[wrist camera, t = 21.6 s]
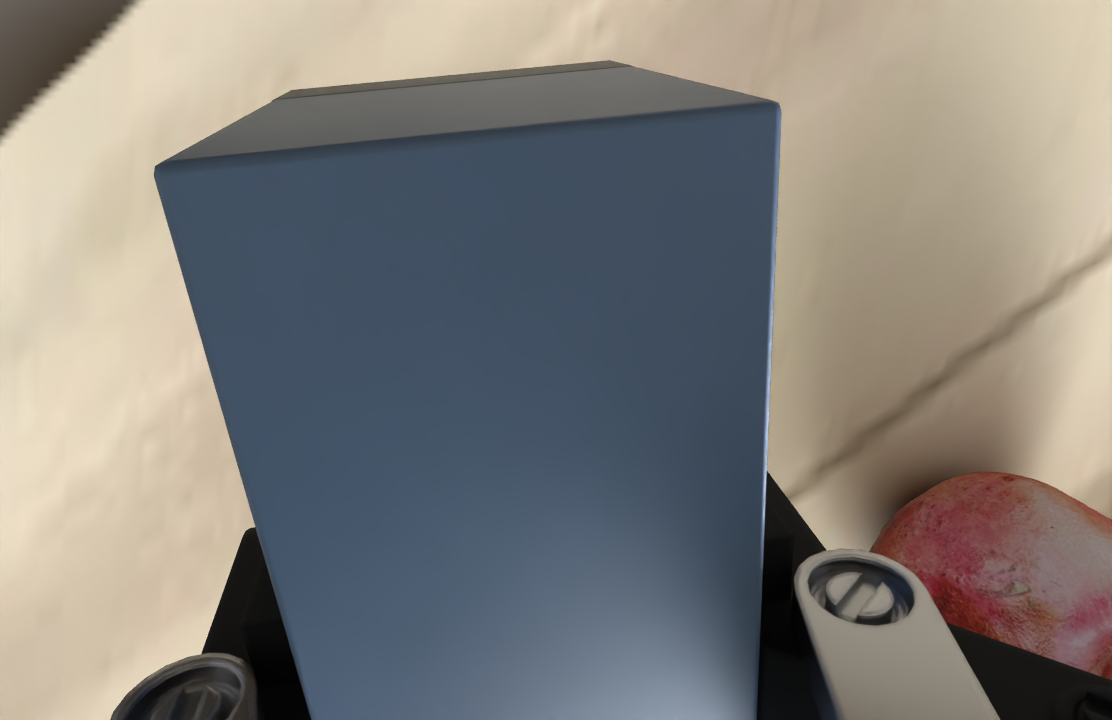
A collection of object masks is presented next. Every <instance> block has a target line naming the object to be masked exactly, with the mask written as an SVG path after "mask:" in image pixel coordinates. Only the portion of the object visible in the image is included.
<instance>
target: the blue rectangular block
mask: <svg viewBox="0 0 1112 720" xmlns="http://www.w3.org/2000/svg"><path fill="white" fill-rule="evenodd" d="M780 135H781V108H780V105H779V103H778V102H775V101H772V100H769V99H765V98H760V97H756V96H752V95H748V94H744V93H740V92H736V91H732V90H727V89H723V88H719V87H715V86H711V85H707V84H703V83H699V82H694V81H690V80H686V79H682V78H678V77H674V76H670V75H666V74H661V73H657V72H653V71H649V70H645V69H641V68H637V67H634V66H631V65H627V64H623V63H618V62H614V61H610V60H609V61H598V62H588V63H577V64H566V65H555V66H545V67H534V68H523V69H513V70H502V71H491V72H481V73H470V74H459V75H448V76H438V77H427V78H416V79H406V80H395V81H384V82H373V83H363V84H352V85H341V86H331V87H320V88H309V89H299V90H291V91H289V92H287V93H285V94H284V95H282V96H280V97H278V98H276V99H274V100H273V101H272V102H271V103H269V104H267V105H265V106H263V107H261V108H260V109H258V110H256V111H254V112H252V113H250V114H249V115H247V116H245V117H243V118H241V119H240V120H238V121H236V122H234V123H232V124H230V125H229V126H227V127H225V128H223V129H221V130H220V131H218V132H216V133H214V134H212V135H210V136H209V137H207V138H205V139H203V140H201V141H200V142H198V143H196V144H194V145H192V146H190V147H189V148H187V149H185V150H183V151H181V152H180V153H178V154H176V155H174V156H172V157H170V158H169V159H167V160H165V161H163V162H161V163H160V164H158V165H156V166H155V170H154V178H155V181H156V185H157V188H158V192H159V195H160V199H161V202H162V206H163V209H164V212H165V216H166V219H167V223H168V226H169V230H170V233H171V237H172V240H173V244H174V247H175V250H176V254H177V257H178V261H179V264H180V268H181V271H182V275H183V278H184V282H185V285H186V288H187V292H188V295H189V299H190V302H191V306H192V309H193V313H194V316H195V320H196V323H197V326H198V330H199V333H200V337H201V340H202V344H203V347H204V351H205V354H206V358H207V361H208V364H209V368H210V371H211V375H212V378H213V382H214V385H215V389H216V392H217V396H218V399H219V402H220V406H221V409H222V413H223V416H224V420H225V423H226V427H227V430H228V434H229V437H230V440H231V444H232V447H233V451H234V454H235V458H236V461H237V465H238V468H239V472H240V475H241V478H242V482H243V485H244V489H245V492H246V496H247V499H248V503H249V506H250V510H251V513H252V516H253V520H254V523H255V527H256V530H257V534H258V537H259V541H260V544H261V548H262V551H263V554H264V558H265V561H266V565H267V568H268V572H269V575H270V579H271V582H272V586H273V589H274V592H275V596H276V599H277V603H278V606H279V610H280V613H281V617H282V620H283V624H284V627H285V630H286V634H287V637H288V641H289V644H290V648H291V651H292V655H293V658H294V662H295V665H296V668H297V672H298V675H299V679H300V682H301V686H302V689H303V693H304V696H305V700H306V703H307V706H308V710H309V713H310V717H311V720H757V697H758V673H759V648H760V624H761V599H762V575H763V550H764V526H765V502H766V477H767V453H768V428H769V404H770V379H771V355H772V330H773V306H774V282H775V257H776V233H777V208H778V184H779V159H780Z"/></svg>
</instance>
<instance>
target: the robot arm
mask: <svg viewBox="0 0 1112 720" xmlns="http://www.w3.org/2000/svg"><path fill="white" fill-rule="evenodd" d="M110 720H311V717H310V713H309V710H308V706H307V703H306V700H305V696H304V693H303V689H302V686H301V682H300V679H299V675H298V672H297V668H296V665H295V662H294V658H293V655H292V651H291V648H290V644H289V641H288V637H287V634H286V630H285V627H284V624H283V620H282V617H281V613H280V610H279V606H278V603H277V599H276V596H275V592H274V589H273V586H272V582H271V579H270V575H269V572H268V568H267V565H266V561H265V558H264V554H263V551H262V548H261V544H260V541H259V537H258V534H257V530H256V527H254V528H250V529H248V530H246V532H245V534H244V535H243V537H242V540H241V543H240V546H239V549H238V551H237V554H236V557H235V560H234V563H233V566H232V569H231V571H230V574H229V577H228V580H227V583H226V586H225V588H224V591H223V594H222V597H221V600H220V603H219V605H218V608H217V611H216V614H215V617H214V620H213V622H212V625H211V628H210V631H209V634H208V637H207V639H206V642H205V645H204V648H203V651H202V654H201V655H196V656H191V657H187V658H184V659H182V660H179V661H177V662H174V663H171V664H169V665H166V666H165V667H163V668H161V669H160V670H158V671H156V672H155V673H153V674H151V675H150V676H148V677H146V678H145V679H144V680H143V681H141V682H140V683H139V684H138V685H137V686H136V687H134V688H133V689H132V690H131V691H130V692H129V693H128V694H127V695H126V696H125V697H124V699H123V700H122V701H121V703H120V704H119V705H118V706H117V708H116V709H115V710H114V712H113V714H112V717H111V719H110ZM757 720H1112V680H1110V679H1107V678H1104V677H1101V676H1098V675H1095V674H1092V673H1090V672H1087V671H1084V670H1081V669H1078V668H1075V667H1073V666H1070V665H1067V664H1064V663H1061V662H1058V661H1055V660H1053V659H1050V658H1047V657H1044V656H1041V655H1038V654H1035V653H1033V652H1030V651H1027V650H1024V649H1021V648H1018V647H1015V646H1013V645H1010V644H1007V643H1004V642H1001V641H998V640H995V639H993V638H990V637H987V636H984V635H981V634H978V633H976V632H973V631H970V630H967V629H964V628H961V627H958V626H956V625H953V624H950V623H947V622H945V621H944V619H943V617H942V616H941V614H940V612H939V610H938V608H937V607H936V605H935V603H934V601H933V600H932V598H931V596H930V594H929V593H928V591H927V589H926V587H925V586H924V585H923V584H922V582H921V581H920V580H919V579H918V577H917V576H916V575H915V574H914V573H913V572H911V571H910V570H908V569H907V568H906V567H904V566H903V565H902V564H900V563H898V562H896V561H894V560H892V559H889V558H887V557H885V556H883V555H880V554H876V553H872V552H868V551H864V550H855V549H835V550H828V551H826V549H825V548H824V546H823V545H822V544H821V542H820V541H819V540H818V538H817V537H816V536H815V534H814V533H813V532H812V530H811V529H810V528H809V526H808V525H807V524H806V522H805V521H804V520H803V518H802V517H801V516H800V514H799V513H798V512H797V510H796V509H795V508H794V506H793V505H792V504H791V502H790V501H789V500H788V498H787V497H786V496H785V494H784V493H783V492H782V490H781V489H780V488H779V486H778V485H777V484H776V482H775V481H774V480H773V478H772V477H771V475H770V474H769V473H768V471H767V477H766V502H765V526H764V550H763V575H762V599H761V624H760V648H759V673H758V697H757Z"/></svg>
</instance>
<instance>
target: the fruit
mask: <svg viewBox="0 0 1112 720" xmlns="http://www.w3.org/2000/svg"><path fill="white" fill-rule="evenodd" d="M869 552H872V553H876V554H880V555H883V556H885V557H887V558H889V559H892V560H894V561H896V562H898V563H900V564H902V565H903V566H904V567H906V568H907V569H908V570H910V571H911V572H913V573H914V574H915V575H916V576H917V577H918V579H919V580H920V581H921V582H922V584H923V585H924V586H925V587H926V589H927V591H928V593H929V594H930V596H931V598H932V600H933V601H934V603H935V605H936V607H937V608H938V610H939V612H940V614H941V616H942V617H943V619H944V621H945V622H947V623H950V624H953V625H956V626H958V627H961V628H964V629H967V630H970V631H973V632H976V633H978V634H981V635H984V636H987V637H990V638H993V639H995V640H998V641H1001V642H1004V643H1007V644H1010V645H1013V646H1015V647H1018V648H1021V649H1024V650H1027V651H1030V652H1033V653H1035V654H1038V655H1041V656H1044V657H1047V658H1050V659H1053V660H1055V661H1058V662H1061V663H1064V664H1067V665H1070V666H1073V667H1075V668H1078V669H1081V670H1084V671H1087V672H1090V673H1092V674H1095V675H1098V676H1101V677H1104V678H1107V679H1110V680H1112V520H1111V519H1109V518H1107V517H1106V516H1104V515H1102V514H1100V513H1099V512H1097V511H1095V510H1093V509H1092V508H1090V507H1088V506H1086V505H1085V504H1083V503H1081V502H1080V501H1078V500H1076V499H1074V498H1072V497H1070V496H1069V495H1067V494H1065V493H1063V492H1062V491H1060V490H1058V489H1056V488H1054V487H1052V486H1050V485H1048V484H1046V483H1043V482H1040V481H1037V480H1034V479H1030V478H1027V477H1023V476H1019V475H1013V474H1008V473H999V472H976V473H969V474H964V475H960V476H956V477H953V478H950V479H947V480H945V481H942V482H941V483H939V484H937V485H935V486H934V487H932V488H931V489H929V490H927V491H926V492H924V493H923V494H921V495H920V496H918V497H917V498H915V499H914V500H912V501H910V502H909V503H908V504H906V505H905V506H904V507H902V508H901V509H900V510H899V511H898V512H897V513H896V514H895V515H894V516H893V517H892V518H891V519H890V520H889V521H888V523H887V524H886V525H885V527H884V528H883V529H882V531H881V533H880V534H879V536H878V538H877V539H876V541H875V543H874V544H873V546H872V548H871V550H870V551H869Z"/></svg>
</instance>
